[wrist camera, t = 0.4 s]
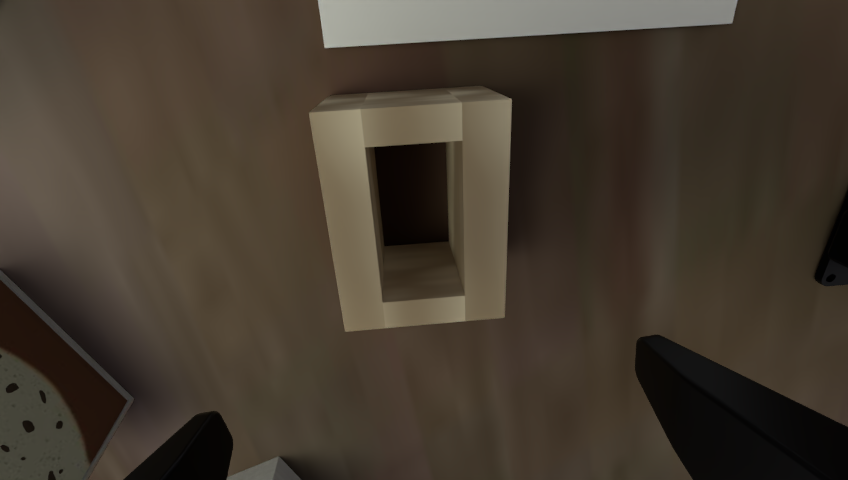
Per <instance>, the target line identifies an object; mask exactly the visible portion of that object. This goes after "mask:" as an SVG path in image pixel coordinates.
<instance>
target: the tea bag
mask: <svg viewBox="0 0 848 480" xmlns="http://www.w3.org/2000/svg"><path fill="white" fill-rule="evenodd" d="M227 480H301V479H300V478H299V477H298V476H297V475H296V474H295V473H294V472H293V470H292V469H291V468H290V467H289V466H288V465H287V464H286V463H285V462H284V461H283V460H282V459H281V458H280V457H279V456H278V457H276V458H273V459H271V460H269V461H266V462H264V463H261V464H259V465H256V466H254V467H251V468H249V469H246V470H244V471H242V472H239V473H237V474H234V475H232V476H229V477H227Z"/></svg>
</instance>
